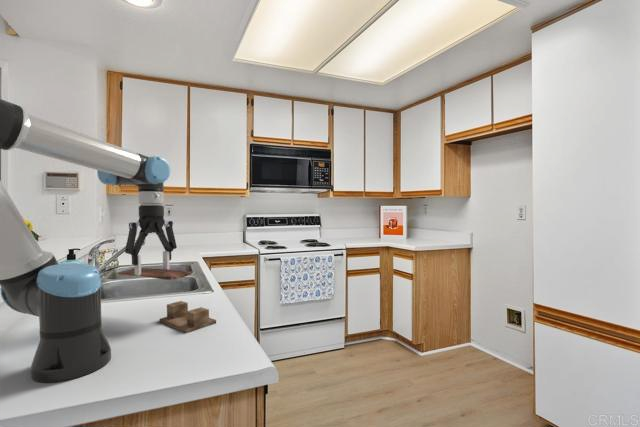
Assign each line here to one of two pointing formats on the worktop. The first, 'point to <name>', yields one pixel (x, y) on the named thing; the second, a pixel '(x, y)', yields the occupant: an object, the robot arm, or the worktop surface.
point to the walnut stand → (186, 317)
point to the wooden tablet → (157, 273)
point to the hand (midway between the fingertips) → (152, 272)
